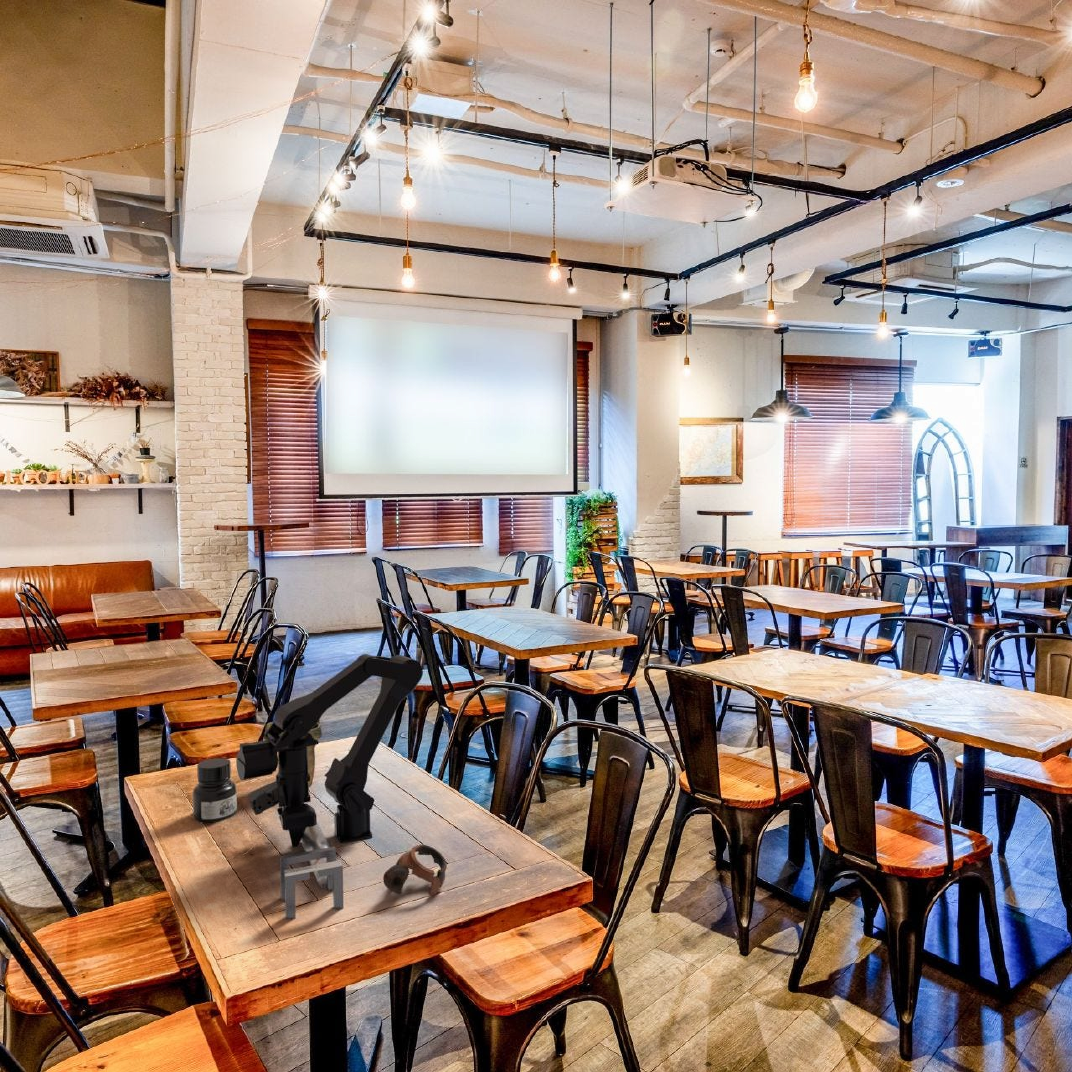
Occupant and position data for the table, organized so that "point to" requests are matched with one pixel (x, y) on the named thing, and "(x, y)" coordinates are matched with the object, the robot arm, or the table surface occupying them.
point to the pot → (309, 748)
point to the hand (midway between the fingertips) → (295, 846)
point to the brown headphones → (416, 870)
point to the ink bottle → (214, 791)
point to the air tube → (315, 848)
